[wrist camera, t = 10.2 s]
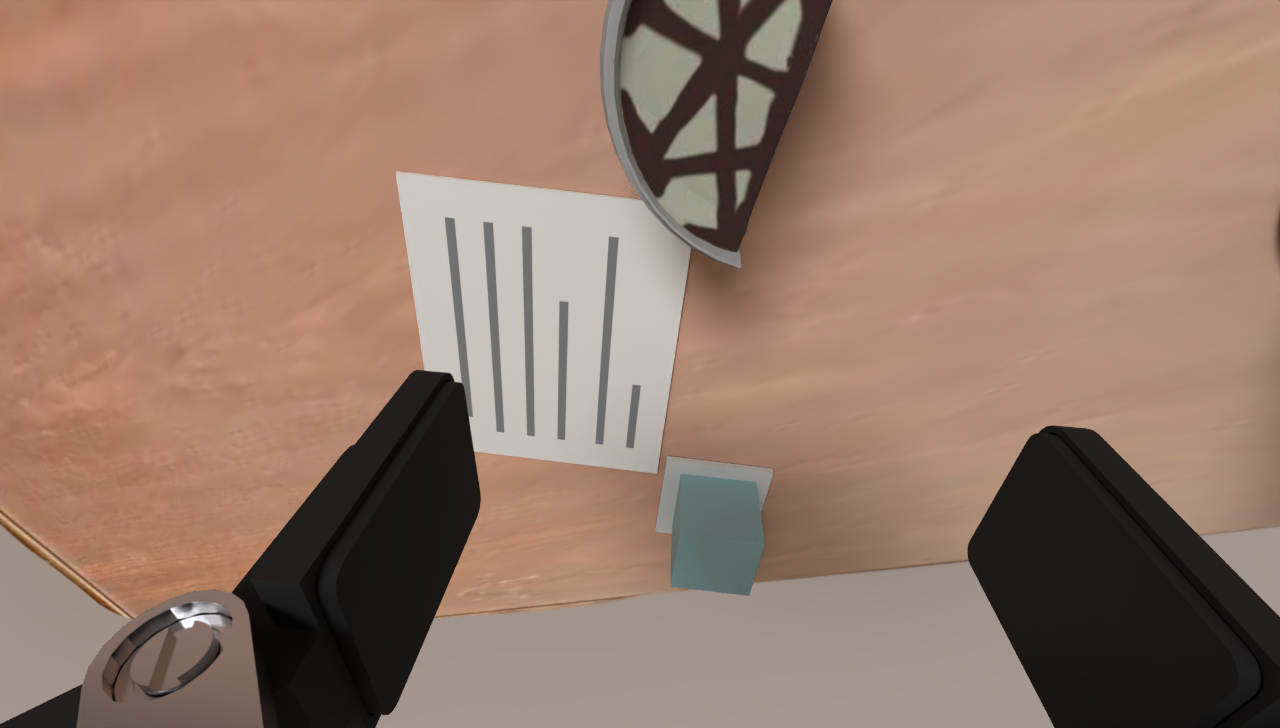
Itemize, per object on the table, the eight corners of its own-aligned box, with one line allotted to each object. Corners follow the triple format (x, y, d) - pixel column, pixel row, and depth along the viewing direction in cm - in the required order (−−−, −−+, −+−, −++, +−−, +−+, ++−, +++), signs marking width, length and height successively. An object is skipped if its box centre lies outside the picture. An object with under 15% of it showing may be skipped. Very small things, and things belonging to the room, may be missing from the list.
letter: (697, 205, 27) (697, 207, 26) (657, 471, 36) (656, 473, 36) (397, 171, 27) (395, 172, 27) (436, 444, 37) (435, 446, 36)
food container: (670, -180, 19) (657, -333, 11) (830, -126, 20) (935, -233, 11) (598, 164, 26) (555, 233, 18) (719, 199, 26) (735, 283, 18)
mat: (772, 468, 36) (773, 473, 35) (751, 539, 39) (751, 543, 39) (667, 455, 36) (666, 460, 35) (655, 527, 39) (655, 531, 39)
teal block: (755, 481, 36) (765, 543, 31) (742, 532, 38) (748, 595, 34) (680, 473, 36) (679, 533, 32) (672, 524, 38) (670, 586, 34)
